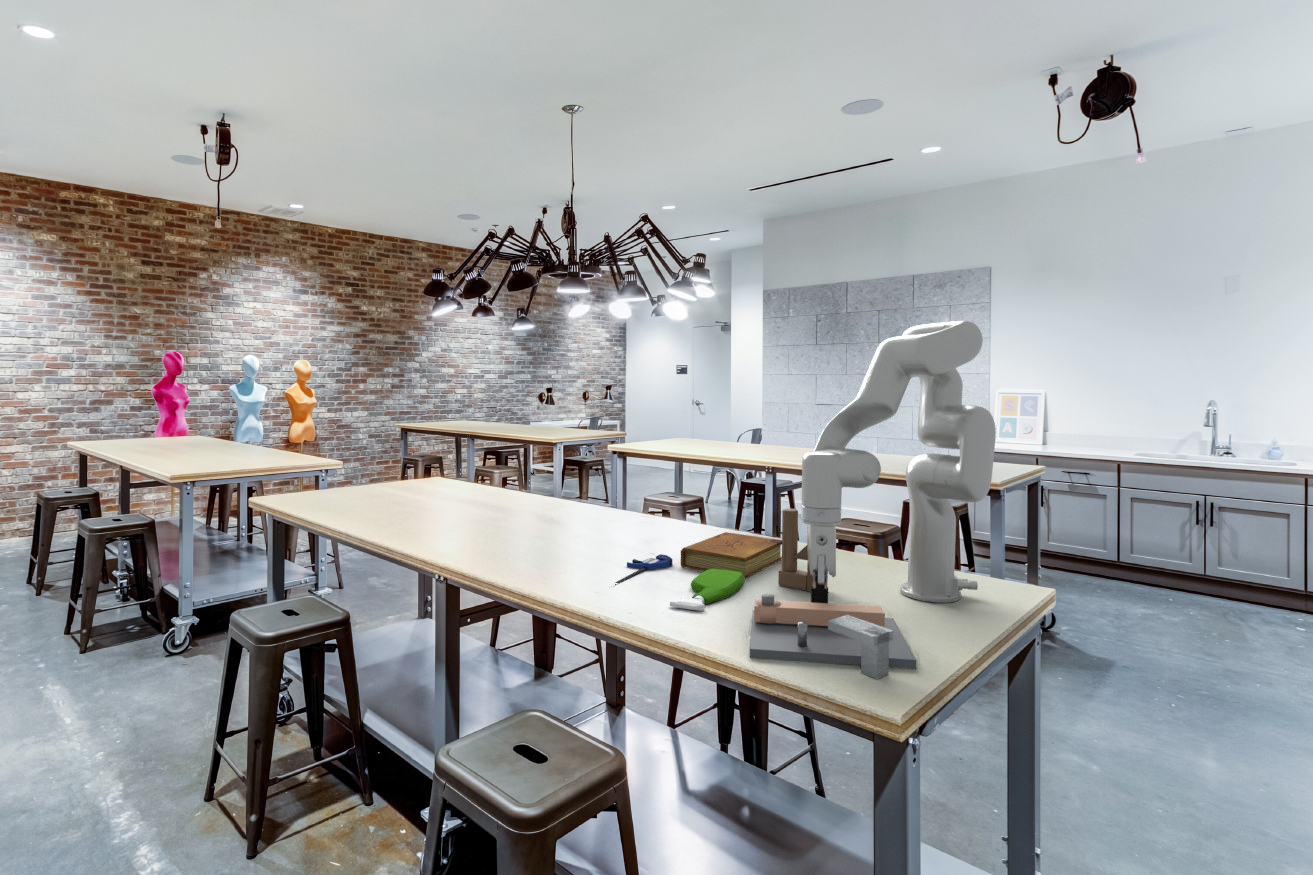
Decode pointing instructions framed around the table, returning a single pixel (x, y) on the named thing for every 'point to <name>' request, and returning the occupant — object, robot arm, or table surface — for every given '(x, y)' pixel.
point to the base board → (821, 645)
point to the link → (812, 612)
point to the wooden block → (793, 554)
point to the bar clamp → (648, 565)
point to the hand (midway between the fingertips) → (819, 606)
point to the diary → (732, 553)
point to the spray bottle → (711, 588)
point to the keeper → (865, 632)
